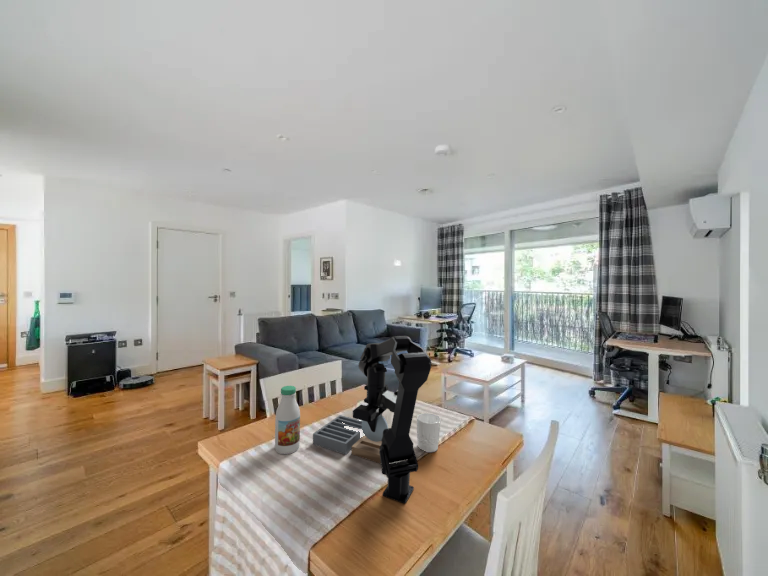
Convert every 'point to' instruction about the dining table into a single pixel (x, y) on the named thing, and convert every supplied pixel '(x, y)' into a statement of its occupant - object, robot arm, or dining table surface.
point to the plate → (378, 432)
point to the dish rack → (338, 434)
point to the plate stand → (367, 449)
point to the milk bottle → (287, 422)
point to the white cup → (428, 431)
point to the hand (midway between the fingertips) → (374, 430)
